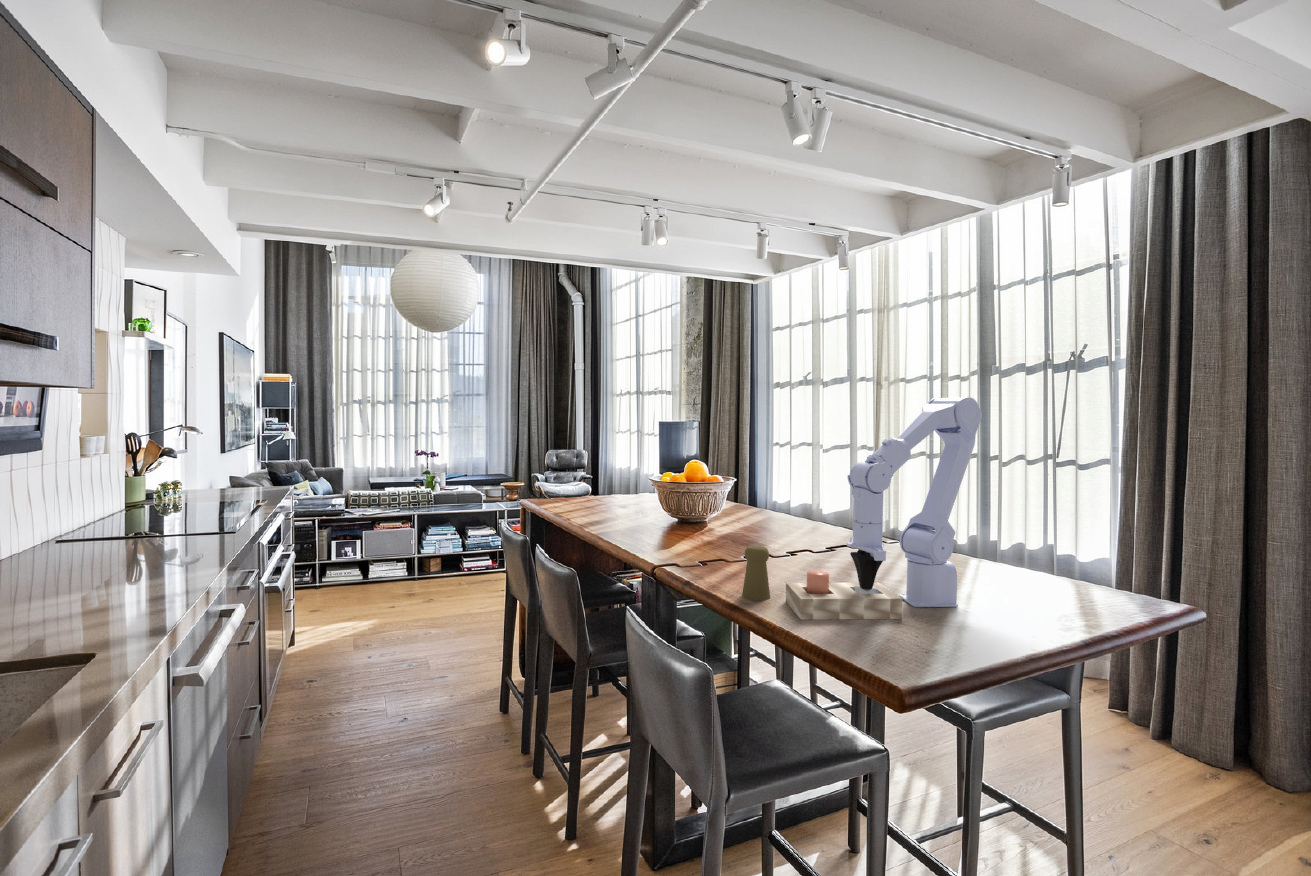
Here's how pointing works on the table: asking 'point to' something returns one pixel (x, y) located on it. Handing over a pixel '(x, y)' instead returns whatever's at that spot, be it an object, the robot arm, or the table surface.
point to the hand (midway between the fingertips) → (866, 588)
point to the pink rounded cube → (817, 582)
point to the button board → (843, 602)
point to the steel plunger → (865, 590)
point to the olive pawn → (756, 573)
